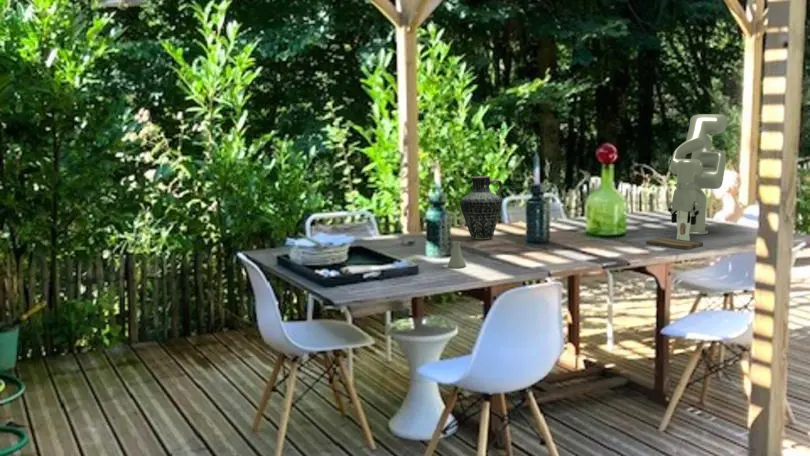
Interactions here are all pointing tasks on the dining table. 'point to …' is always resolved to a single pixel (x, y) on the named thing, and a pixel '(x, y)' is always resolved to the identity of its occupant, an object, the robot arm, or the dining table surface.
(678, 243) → the serving board
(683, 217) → the beer glass
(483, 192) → the jug
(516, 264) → the dining table surface
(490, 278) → the dining table surface
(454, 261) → the flask
